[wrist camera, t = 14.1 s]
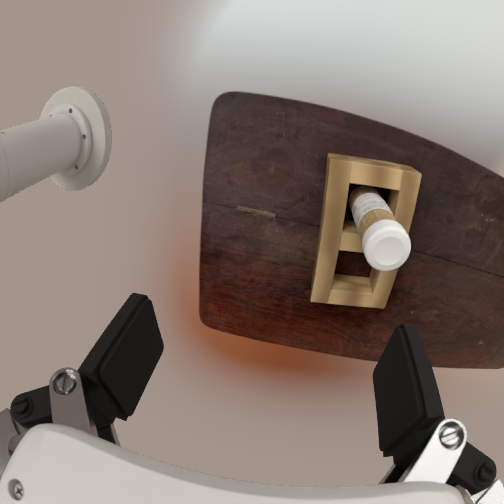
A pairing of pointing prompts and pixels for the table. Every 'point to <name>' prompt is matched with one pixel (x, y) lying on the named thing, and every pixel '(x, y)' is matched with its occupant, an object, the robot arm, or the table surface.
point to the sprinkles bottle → (378, 230)
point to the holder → (346, 234)
